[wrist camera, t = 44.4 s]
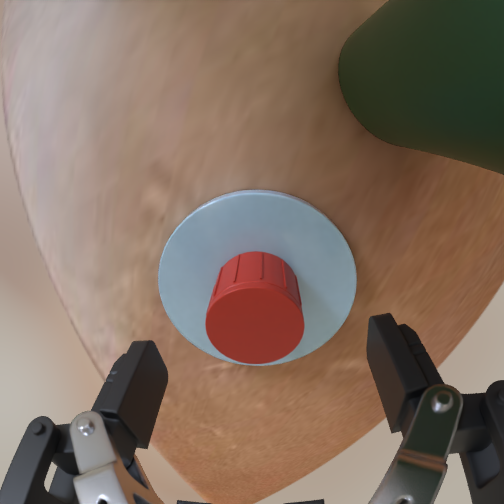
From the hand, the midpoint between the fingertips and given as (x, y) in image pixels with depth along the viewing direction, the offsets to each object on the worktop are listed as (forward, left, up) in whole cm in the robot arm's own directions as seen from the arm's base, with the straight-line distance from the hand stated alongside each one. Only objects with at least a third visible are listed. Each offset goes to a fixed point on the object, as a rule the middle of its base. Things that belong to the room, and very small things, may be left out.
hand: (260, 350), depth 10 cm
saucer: (0, 0, -5) cm, 5 cm away
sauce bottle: (-9, +8, -5) cm, 13 cm away
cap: (0, 0, -4) cm, 4 cm away
